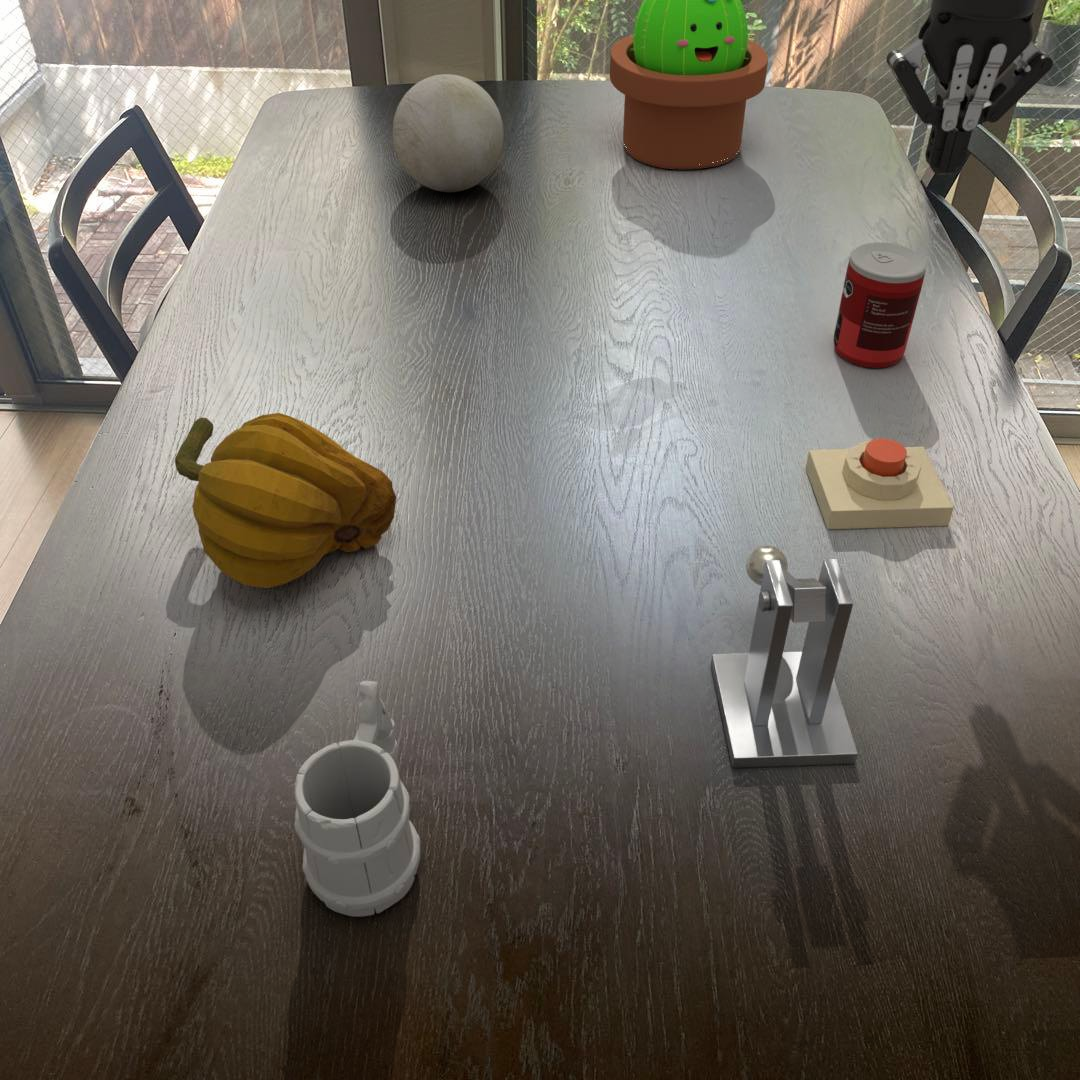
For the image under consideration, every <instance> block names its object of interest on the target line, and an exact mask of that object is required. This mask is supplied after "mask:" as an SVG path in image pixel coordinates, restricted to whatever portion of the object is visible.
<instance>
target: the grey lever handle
mask: <svg viewBox="0 0 1080 1080" xmlns="http://www.w3.org/2000/svg"><path fill="white" fill-rule="evenodd" d="M770 560H780V563H781V566H782V570H783V573H784V576H785V580H786V583H787V586H788V590H789V593H790V597H791V600H792V603H793V608H792V613H791V618H790V621H792V622H793V623H794V624H797V623H800V624H801V623H809V622H825V621H826V587H825V586H824V585H822V584H821V583H820V582H819V580H817V578H814V577H813V578H796V577H794V576H793V575H792V574H791V573H789V571H788V569H789V566H788V565H789V564H788V559H787V557H786V555H785V553H784V552H783V551H781V549H779V548H777V547H775V546H773V545H761V546H759V547H757V548H755V549H753V550H752V551H751V552H750V553H749V555H748V556H747V558H746V562H745V570H746V574H747V576H748V577H749V579H750V580H751V581H752V582H753V583H754V584H756V585H758V586H761V584H762V579H763V573H764V567H765V562H766V561H770Z"/></svg>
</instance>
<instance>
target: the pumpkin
mask: <svg viewBox="0 0 1080 1080" xmlns="http://www.w3.org/2000/svg"><path fill="white" fill-rule="evenodd" d="M213 432H214V424H213V422H211V421H210V420H209V418H207V417H199V418H198V419H196V420H194V421H193V423H192V425H191V427H190V429H189V431H188V433H187V435H186V437H185V439H184V440H183V442H182V444H181V445H180V448H179V449H178V451H177V453H176V455H175V457H174V465H175V469H176V471H177V473H178V475H180V476H182V477H184V478H187V479H188V480H189V481H193V482H198V483H197V484H196V486H195V490H194V495H193V502H192V503H193V504H192V512H193V517H194V519H195V521H196V524H197V526H198V527H197V528H198V534H199V538H200V542H201V545H202V548H203V552H204V553H205V554H206V556H207V557H208V558H209V559H210V560H211V561H212V563H213V564H214V565H215V566H216V567H217V569H218V570H220V573H222V574H224V575H226V576H227V577H230V578H231V579H233V580H234V581H236V582H238V583H240V584H242V585H243V586H249V587H254V588H255V587H257V588H262V589H263V588H265V589H270V588H275V587H277V586H282V585H286V584H288V583H290V582H291V581H294V580H296V579H298V578H300V577H302V576H303V575H304V574H306V573H308V572H309V571H311V570H312V569H314V567H316V565H318V564H319V562H320V561H321V560H322V558H323V557H324V556H325V555H326V554H328V553H329V554H330V553H333V552H335V551H336V550H337V549H339V550H340V551H341V552H345V553H353V552H357V551H359V550H360V549H361V547H362V548H364V549H365V550H368V549H369V548H370V547H373V546H375V545H378V544H379V542H380V541H381V539H382V535H383V534H385V533H387V532H388V531H389V529H390V527H391V525H392V523H393V521H394V518H395V513H396V512H395V511H396V504H397V495H396V492H395V490H394V488H393V481H392V480H391V479H390V477H388V475H386V474H385V472H384V471H383V470H381V469H379V468H378V467H375V466H374V465H372V464H370V463H368V462H367V461H364V460H362V459H360V458H358V457H357V456H355V455H353V454H352V453H350V452H349V451H348V450H346V449H344V447H342V446H341V445H340V444H339V443H337V442H336V441H335V440H333V439H332V438H330V436H328V435H326V434H325V433H323V432H321V431H320V430H318V429H316V428H315V427H313V426H311V424H308V423H306V422H304V421H303V420H301V419H298V418H295V417H292V415H287V414H285V413H280V412H275V413H267V414H261V415H259V416H257V417H254V418H253V419H250V420H248V421H245V422H244V423H243V424H242V425H241V426H240V428H237V429H235V430H233V431H232V432H230V433H229V434H228V435H226V436H225V437H224V438H223V439H222V440H221V441H220V443H218V444H217V445H216V447H215V449H214V450H213V452H212V454H211V457H210V462H207V463H205V464H204V465H203V464H199V463H197V462H198V459H199V458H200V456H201V453H202V451H203V449H204V446H205V444H206V443H207V441H208V440H209V439H210V438H212V436H213Z"/></svg>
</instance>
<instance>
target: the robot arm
mask: <svg viewBox="0 0 1080 1080" xmlns="http://www.w3.org/2000/svg"><path fill="white" fill-rule="evenodd" d="M1038 3H1039V0H931V2H930V11H929V13H928V16H927V18H926V20H925V22H924V23H923V24H922V26H921V27H920V28H919V31H918V36H917V38H918V39H916V40H915V41H913V42H912V43H911V44H909V45H908V46H907V47H905V48H904V49H902V50H901V51H900V50H898V49H892V50H891V51H890V52H889V53H888V54H887V56H886V63H887V65H888V67H889V70H891V73H892V74H893V76H894V78H895V80H896V82H897V84H898V85H899V87H900V89H901V90H902V92H903V94H904V96H905V98H906V100H907V101H908V103H909V105H910V106H911V109H912V110H913V112H914V113H915V114H916V115H917V116H918V117H919V119H920V121H921V122H922V123H924V124H927V125H929V124H930V125H931V129H930V133H929V137H928V142H927V145H926V150H925V154H924V156H925V161H926V163H927V164H928V165H929V167H930V169H931V171H932V172H933V173H934V174H935V175H938V176H939V175H941V176H942V175H954V174H955V173H956V171H957V168H961V167H962V165H963V164H964V162H965V160H966V157H967V153H968V149H969V145H970V142H971V137H972V134H973V131H974V130H975V129H976V127H977V126H978V125H981V124H984V123H986V122H989V123H990V124H991V123H992V124H993V123H997V122H998V121H1000V119H1001V118H1003V116H1004V115H1005V114H1006V113H1008V112H1009V110H1010V109H1012V108H1013V107H1014V105H1016V103H1018V102H1019V101H1020V100H1021V99H1022V98H1023V97H1024V96H1025V95H1026V94H1027V93H1028V92H1029V91H1030V90H1031V89H1032V88H1033V87H1034V86H1035V85H1036V84H1037V83H1038V82H1039V81H1041V80H1042V78H1044V76H1046V75H1047V74H1048V73H1049V71H1051V70H1052V68H1053V66H1054V61H1053V59H1052V58H1051V57H1050V56H1049V54H1047V53H1046V52H1045V51H1043V50H1042V49H1041V48H1039V47H1038V46H1037V45H1036V44H1035V43H1034V42H1033V39H1034V34H1035V33H1034V32H1035V31H1034V27H1033V15H1034V13H1035V11H1036V9H1037V7H1038ZM924 56H925V58H926V60H927V62H928V64H929V66H930V68H931V71H932V73H933V75H934V76H935V81H934V90H935V97H934V102H932V101H931V99H930V97H929V96H928V93H927V91H926V90H925V88H924V86H923V84H922V82H921V81H920V78H919V77H918V76H919V75H920V74H921V73H922V72H923V70H924V64H923V58H924ZM1010 66H1011V67H1010ZM1009 67H1010V68H1009ZM1008 68H1009V69H1008ZM1007 69H1008V70H1007ZM1006 70H1007V71H1006ZM1005 71H1006V72H1005ZM1003 73H1004V74H1003ZM1001 75H1002V76H1001ZM1000 76H1001V77H1000ZM999 77H1000V78H999ZM998 78H999V79H998ZM997 79H998V80H997ZM996 80H997V81H996Z"/></svg>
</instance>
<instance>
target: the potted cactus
mask: <svg viewBox="0 0 1080 1080" xmlns="http://www.w3.org/2000/svg"><path fill="white" fill-rule="evenodd" d="M745 7H748V5H747V4H745V5H743V2H742V1H741V0H643V1H642V2H641V4H640V7H639V9H638V12H637V14H636V15H634V16H633V17H634V18H633V22H634V21H635V22H634V27H633V33H632V34H629V35H627V36H625V37H623V38H621V39H619V40H617V41H616V42H615V43H614V44H613V45H612V47H611V48H610V53H609V55H610V56H609V81H610V83H611V85H612V86H613V88H614V89H616V90H617V91H618V92H620V93H621V94H623V95H624V106H623V127H622V129H623V130H622V144H623V148H624V149H625V151H626V152H627V154H629V155H630V156H631V157H632V158H633V159H635V160H636V161H638V162H641V163H642V164H645V165H647V166H651V167H655V168H661V169H666V170H667V169H668V170H681V171H682V170H684V171H685V170H686V171H687V170H699V169H700V170H701V169H708V168H714V167H717V166H721V165H724V164H726V163H728V162H731V161H733V160H734V159H735V158H736V157H737V156H738V155H739V154H740V152H741V148H742V140H743V133H744V132H743V131H744V124H745V115H746V108H747V107H746V106H747V101H748V100H750V99H752V98H755V97H756V96H758V95H759V94H761V93H762V91H763V90H764V89H765V86H766V79H767V73H768V72H767V71H768V65H769V56H768V53H767V52H766V50H765V49H764V48H763V47H761V45H759V44H758V43H757V42H755V41H753V40H751V39H749V38H751V37H752V35H749V28H748V27H749V25H748V18H747V15H746V11H745ZM624 144H625V145H624ZM625 146H626V147H627V148H626V147H625ZM738 151H739V152H738ZM736 153H737V154H736ZM727 158H728V159H727ZM724 159H725V160H724ZM721 160H722V161H721ZM717 161H718V162H717ZM712 162H714V163H712ZM699 164H700V165H699Z"/></svg>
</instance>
